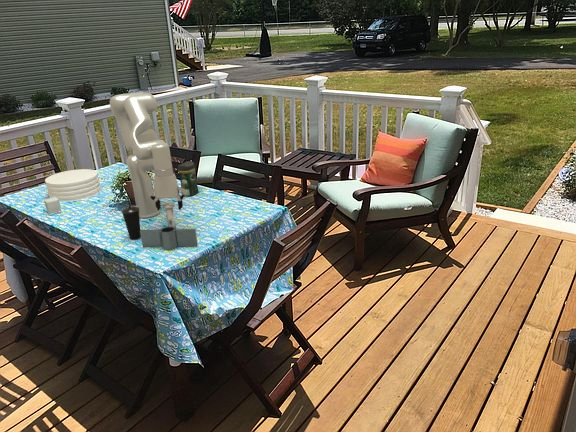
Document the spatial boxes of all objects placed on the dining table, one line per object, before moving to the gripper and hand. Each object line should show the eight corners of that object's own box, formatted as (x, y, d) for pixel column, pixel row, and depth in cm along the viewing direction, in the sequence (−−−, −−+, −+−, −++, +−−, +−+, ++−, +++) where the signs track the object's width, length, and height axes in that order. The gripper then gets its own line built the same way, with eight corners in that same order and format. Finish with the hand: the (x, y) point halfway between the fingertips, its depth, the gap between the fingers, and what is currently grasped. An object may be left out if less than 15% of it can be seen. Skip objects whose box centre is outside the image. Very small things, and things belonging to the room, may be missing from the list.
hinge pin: (166, 237, 214) (161, 206, 208) (169, 232, 219) (164, 202, 213) (177, 237, 213) (172, 206, 208) (180, 232, 218) (176, 202, 213)
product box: (62, 212, 250) (58, 199, 247) (49, 215, 246) (46, 202, 244) (59, 209, 254) (55, 196, 252) (46, 212, 251) (43, 199, 248)
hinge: (140, 250, 202) (137, 233, 199) (145, 243, 209) (142, 227, 206) (195, 249, 201) (193, 232, 198) (199, 242, 207) (197, 225, 204)
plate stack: (89, 202, 263) (85, 182, 259) (40, 204, 264) (35, 184, 260) (108, 186, 289) (104, 168, 285) (63, 188, 290) (59, 170, 286)
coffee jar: (189, 190, 274) (185, 159, 267) (200, 192, 271) (196, 160, 264) (179, 196, 266) (174, 164, 259) (190, 197, 263) (186, 165, 256)
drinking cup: (128, 234, 219) (121, 194, 211) (145, 233, 219) (138, 192, 211) (124, 241, 212) (116, 199, 204) (142, 240, 212) (134, 198, 204)
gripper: (141, 175, 202) (148, 212, 208) (181, 173, 200) (186, 211, 207) (147, 170, 209) (153, 207, 215) (185, 168, 207) (191, 205, 214)
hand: (169, 209), depth 211 cm, fingers open, 9 cm apart
